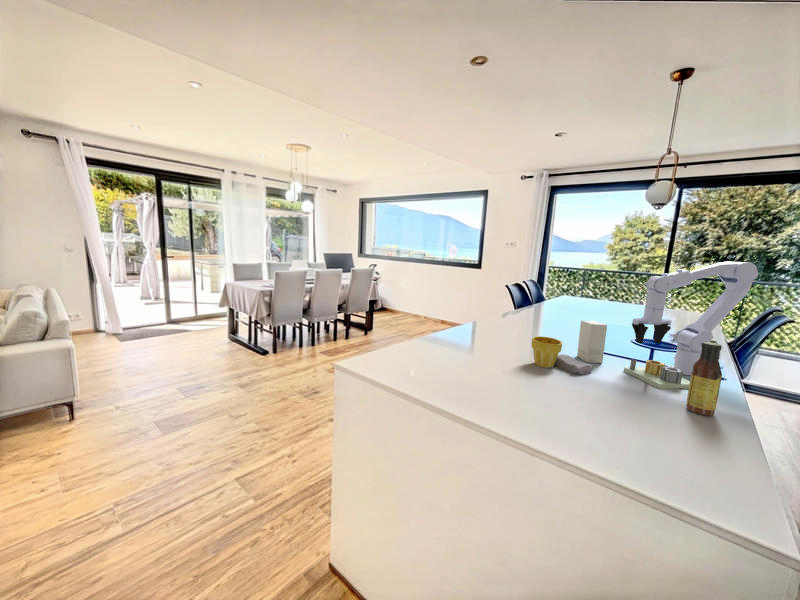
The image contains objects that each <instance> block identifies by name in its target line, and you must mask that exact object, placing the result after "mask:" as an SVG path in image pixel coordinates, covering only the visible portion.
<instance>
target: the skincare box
mask: <svg viewBox="0 0 800 600" xmlns="http://www.w3.org/2000/svg"><path fill="white" fill-rule="evenodd" d="M579 327H580V328H579V335H578V336H579V337H578V343H577V345H578V346H577V355H576V357H578V358H580V359H581V360H583V361H584V362H585V363H588V364H591V363H592V364H603V361H604V352H605V346H606V345H605V344H606V339H607V338H606V337H607V329H608V324H605V323H602V322H599V321H597V320H580V326H579Z"/></svg>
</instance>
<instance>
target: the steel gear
mask: <svg viewBox="0 0 800 600" xmlns="http://www.w3.org/2000/svg"><path fill="white" fill-rule="evenodd" d="M669 369H670V367H667V366H666V365H665V366H664V367H662V371H661V376H660V379H662V380H663V381H667V382H669V383H676V384H679V383H681V380H682V378H683V375H684V374H683V371H681V370H680V369H676V370H675V371H673V370H669Z"/></svg>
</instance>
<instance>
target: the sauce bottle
mask: <svg viewBox="0 0 800 600" xmlns="http://www.w3.org/2000/svg"><path fill="white" fill-rule="evenodd" d="M701 347H702V351H701V355H700V358H699V360H698V361H696V362H695V363H694V365H693V370H692V373H691V375H690V380H689V381H690V385H689V388H688V392H687V397H686V404H685V407H686V409H687V410H688V411H690V412H692V413H695V414H698V415H701V416H707V417H712V416H714V414H715V411H716V410H717V404H718V399H719V394H720V388H721V383H722V378H723V373H722V369H721V365H720V361H719V360H720V358H719V357H720V353H721V350H722V348H723V347H722V345H721V344H720V343H716V342H711V341H710V342H702V345H701Z"/></svg>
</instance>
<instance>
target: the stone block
mask: <svg viewBox="0 0 800 600" xmlns="http://www.w3.org/2000/svg"><path fill="white" fill-rule="evenodd" d="M554 366H555V367H557V368H559V369H561V370H564V371H566V372H569V373H572V374H573V373H574V374H575V375H577V376H580V375H581V374H582V375H584V374H585V373H586V374H591V373H592V371H593V365H592V364H591V363H589V362H586V361H584V362H582V361H579V360H578V359H576V358H574V357H572V356H570V355H568V354H567V355H566V354H558V356H557V359H556V361H555V364H554ZM554 366H553V367H554ZM586 374H585V375H586ZM582 375H581V376H582Z"/></svg>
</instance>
